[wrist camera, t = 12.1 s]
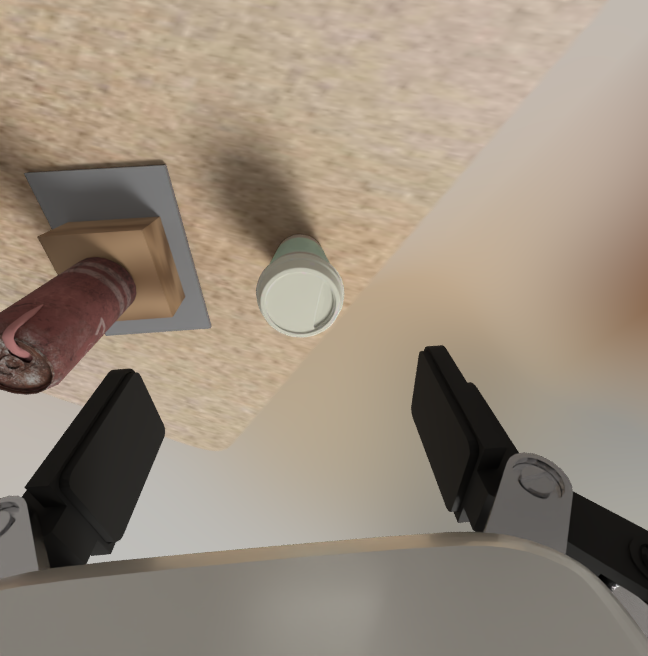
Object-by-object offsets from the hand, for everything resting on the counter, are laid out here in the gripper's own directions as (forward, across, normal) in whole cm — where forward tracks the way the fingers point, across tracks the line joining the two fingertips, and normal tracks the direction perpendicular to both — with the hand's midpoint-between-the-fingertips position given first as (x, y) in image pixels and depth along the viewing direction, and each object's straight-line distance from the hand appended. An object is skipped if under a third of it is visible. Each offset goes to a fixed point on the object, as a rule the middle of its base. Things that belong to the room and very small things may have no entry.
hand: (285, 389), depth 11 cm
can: (+25, +20, +6) cm, 33 cm away
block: (+30, +20, +6) cm, 36 cm away
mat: (+30, +20, +6) cm, 37 cm away
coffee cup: (+31, 0, +7) cm, 31 cm away
